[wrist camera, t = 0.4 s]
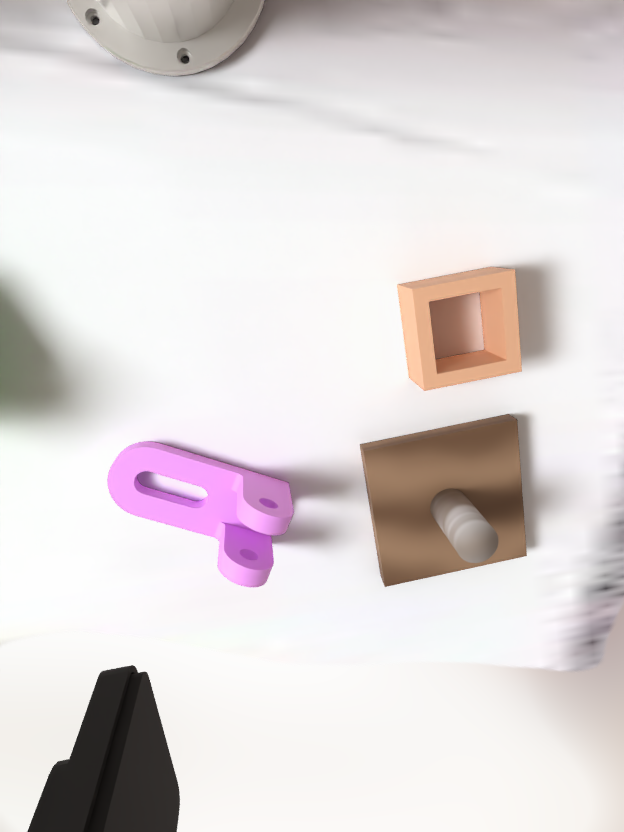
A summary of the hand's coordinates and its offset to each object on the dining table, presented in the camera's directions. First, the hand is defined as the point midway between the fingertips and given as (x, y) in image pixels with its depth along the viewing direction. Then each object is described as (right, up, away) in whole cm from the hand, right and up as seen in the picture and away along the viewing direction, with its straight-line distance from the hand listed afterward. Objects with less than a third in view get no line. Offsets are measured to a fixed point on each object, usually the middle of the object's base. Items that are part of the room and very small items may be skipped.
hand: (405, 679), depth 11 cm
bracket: (-11, -1, +35) cm, 36 cm away
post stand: (+9, -2, +37) cm, 38 cm away
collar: (+8, +12, +33) cm, 36 cm away
